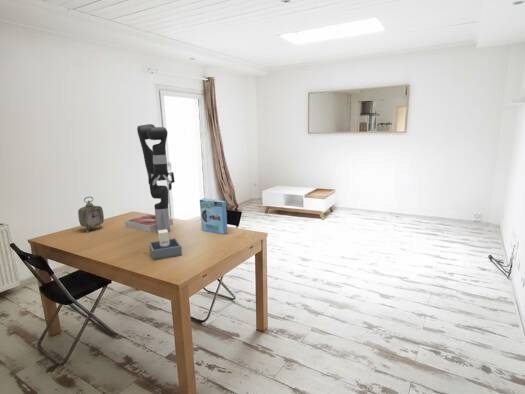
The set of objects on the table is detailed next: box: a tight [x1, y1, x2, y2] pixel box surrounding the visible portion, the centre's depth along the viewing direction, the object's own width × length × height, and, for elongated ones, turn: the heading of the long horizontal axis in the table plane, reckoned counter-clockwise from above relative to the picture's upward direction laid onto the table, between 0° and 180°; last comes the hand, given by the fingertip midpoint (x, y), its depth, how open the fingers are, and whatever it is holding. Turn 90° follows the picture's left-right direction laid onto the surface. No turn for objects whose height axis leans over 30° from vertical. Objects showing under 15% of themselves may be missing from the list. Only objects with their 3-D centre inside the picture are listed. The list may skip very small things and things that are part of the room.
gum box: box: [199, 197, 228, 235], centre depth 225 cm, size 20×5×23 cm, turn 60°
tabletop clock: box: [77, 196, 105, 233], centre depth 233 cm, size 14×9×25 cm, turn 150°
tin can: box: [160, 240, 170, 249], centre depth 187 cm, size 6×6×7 cm
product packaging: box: [124, 214, 174, 233], centre depth 244 cm, size 22×28×5 cm
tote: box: [148, 237, 183, 261], centre depth 187 cm, size 16×16×6 cm
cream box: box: [157, 229, 170, 243], centre depth 186 cm, size 6×5×6 cm
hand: (162, 190), depth 187 cm, fingers open, 8 cm apart
